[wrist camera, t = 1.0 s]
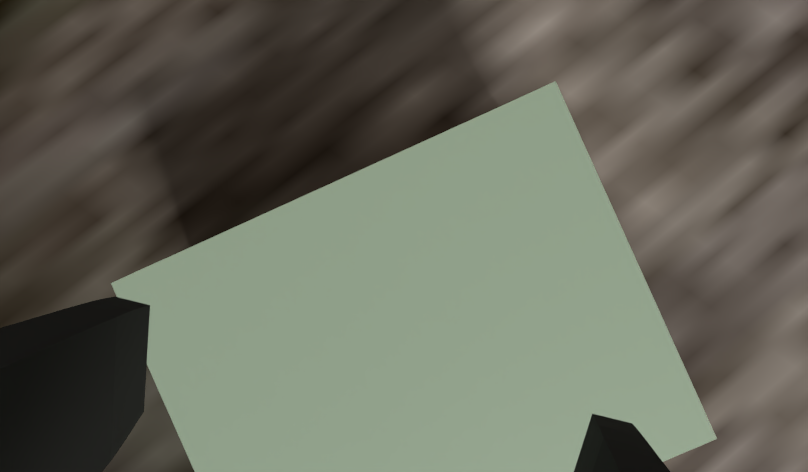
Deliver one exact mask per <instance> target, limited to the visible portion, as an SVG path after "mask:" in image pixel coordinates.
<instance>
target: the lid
mask: <svg viewBox="0 0 808 472" xmlns="http://www.w3.org/2000/svg"><path fill="white" fill-rule="evenodd" d="M111 284H112V287H113V289H114V291H115V293H116V296H117V297H119V298H123V299H127V300H131V301H135V302H139V303H143V304H147V305H150V316H149V332H148V348H147V365H148V368H149V370H150V372H151V374H152V377H153V379H154V381H155V383H156V386H157V388H158V390H159V392H160V395H161V397H162V399H163V401H164V404H165V406H166V408H167V410H168V413H169V415H170V417H171V419H172V422H173V424H174V426H175V428H176V431H177V433H178V435H179V437H180V440H181V442H182V444H183V446H184V449H185V451H186V453H187V455H188V458H189V460H190V462H191V464H192V467H193V469H194V471H195V472H574V470H575V466H576V463H577V460H578V457H579V454H580V451H581V448H582V444H583V441H584V438H585V435H586V432H587V429H588V426H589V422H590V419H591V416H592V414H596V415H600V416H604V417H608V418H612V419H616V420H621V421H625V422H629V423H632V424H633V425H634V426H635V427H636V428H637V429H638V431H639V432H640V433H641V434H642V436H643V437H644V438H645V439H646V441H647V442H648V443H649V445H650V446H651V447H652V449H653V450H654V451H655V453H656V454H657V455H658V456H659V458H660V459H661V460H662V462H663V461H666V460H668V459H670V458H673V457H675V456H677V455H680V454H682V453H684V452H687V451H689V450H691V449H694V448H696V447H699V446H701V445H703V444H706V443H708V442H710V441H713V440H715V439H717V438H716V436H715V433H714V431H713V429H712V427H711V425H710V422H709V420H708V418H707V416H706V413H705V411H704V409H703V407H702V405H701V402H700V400H699V398H698V396H697V393H696V391H695V389H694V387H693V385H692V382H691V380H690V378H689V376H688V374H687V371H686V369H685V367H684V365H683V362H682V360H681V358H680V356H679V354H678V351H677V349H676V347H675V345H674V343H673V340H672V338H671V336H670V334H669V331H668V329H667V327H666V325H665V323H664V320H663V318H662V316H661V314H660V312H659V309H658V307H657V305H656V303H655V300H654V298H653V296H652V294H651V292H650V289H649V287H648V285H647V283H646V281H645V278H644V276H643V274H642V272H641V269H640V267H639V265H638V263H637V261H636V258H635V256H634V254H633V252H632V250H631V247H630V245H629V243H628V241H627V238H626V236H625V234H624V232H623V230H622V227H621V225H620V223H619V221H618V219H617V216H616V214H615V212H614V210H613V207H612V205H611V203H610V201H609V199H608V196H607V194H606V192H605V190H604V187H603V185H602V183H601V181H600V179H599V176H598V174H597V172H596V170H595V168H594V165H593V163H592V161H591V159H590V156H589V154H588V152H587V150H586V148H585V145H584V143H583V141H582V139H581V137H580V134H579V132H578V130H577V128H576V125H575V123H574V121H573V119H572V117H571V114H570V112H569V110H568V108H567V106H566V103H565V101H564V99H563V97H562V94H561V92H560V90H559V88H558V86H557V83H556V81H555V82H553V83H551V84H548V85H546V86H544V87H542V88H540V89H537V90H535V91H533V92H531V93H529V94H526V95H524V96H522V97H520V98H518V99H515V100H513V101H511V102H509V103H507V104H504V105H502V106H500V107H498V108H496V109H493V110H491V111H489V112H487V113H485V114H482V115H480V116H478V117H476V118H474V119H471V120H469V121H467V122H465V123H463V124H460V125H458V126H456V127H454V128H452V129H449V130H447V131H445V132H443V133H441V134H438V135H436V136H434V137H432V138H430V139H427V140H425V141H423V142H421V143H419V144H416V145H414V146H412V147H410V148H408V149H405V150H403V151H401V152H399V153H397V154H394V155H392V156H390V157H388V158H386V159H383V160H381V161H379V162H377V163H375V164H372V165H370V166H368V167H366V168H364V169H361V170H359V171H357V172H355V173H353V174H350V175H348V176H346V177H344V178H342V179H339V180H337V181H335V182H333V183H331V184H328V185H326V186H324V187H322V188H320V189H317V190H315V191H313V192H311V193H309V194H306V195H304V196H302V197H300V198H298V199H295V200H293V201H291V202H289V203H287V204H284V205H282V206H280V207H278V208H276V209H273V210H271V211H269V212H267V213H265V214H262V215H260V216H258V217H256V218H254V219H251V220H249V221H247V222H245V223H243V224H240V225H238V226H236V227H234V228H232V229H229V230H227V231H225V232H223V233H221V234H218V235H216V236H214V237H212V238H210V239H207V240H205V241H203V242H201V243H199V244H196V245H194V246H192V247H190V248H188V249H185V250H183V251H181V252H179V253H177V254H174V255H172V256H170V257H168V258H166V259H163V260H161V261H159V262H157V263H155V264H152V265H150V266H148V267H146V268H144V269H141V270H139V271H137V272H135V273H133V274H130V275H128V276H126V277H124V278H122V279H119V280H117V281H115V282H113V283H111Z"/></svg>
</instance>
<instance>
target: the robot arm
mask: <svg viewBox="0 0 808 472" xmlns="http://www.w3.org/2000/svg"><path fill="white" fill-rule="evenodd" d="M149 316H150V305H147V304H143V303H139V302H135V301H131V300H127V299H123V298H119V297H111V298H105V299H100V300H96V301H92V302H88V303H84V304H81V305H77V306H74V307H70V308H67V309H63V310H60V311H56V312H53V313H50V314H46V315H43V316H40V317H36V318H33V319H29V320H26V321H23V322H19V323H16V324H12V325H9V326H6V327H2V328H0V472H102V471H103V470H104V468H105V467H106V466H107V465H108V464H109V463H110V461H111V460H112V459H113V457H114V456H115V454H116V453H117V451H118V450H119V448H120V447H121V445H122V444H123V443H124V441H125V440H126V438H127V437H128V435H129V434H130V432H131V430H132V429H133V427H134V426H135V424H136V423H137V421H138V419H139V418H140V416H141V415H142V413H143V412H144V398H145V381H146V365H147V348H148V332H149ZM574 472H670V471H669V470H668V468H667V467H666V466H665V464H664V463H663V462H662V460H661V459H660V458H659V456H658V455H657V454H656V453H655V451H654V450H653V449H652V447H651V446H650V445H649V443H648V442H647V441H646V439H645V438H644V437H643V436H642V434H641V433H640V432H639V431H638V429H637V428H636V427H635V426H634V425H633V424H632V423H629V422H625V421H621V420H616V419H612V418H608V417H604V416H600V415H596V414H592V416H591V419H590V422H589V426H588V429H587V432H586V435H585V438H584V441H583V444H582V448H581V451H580V454H579V457H578V460H577V463H576V466H575V470H574Z"/></svg>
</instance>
